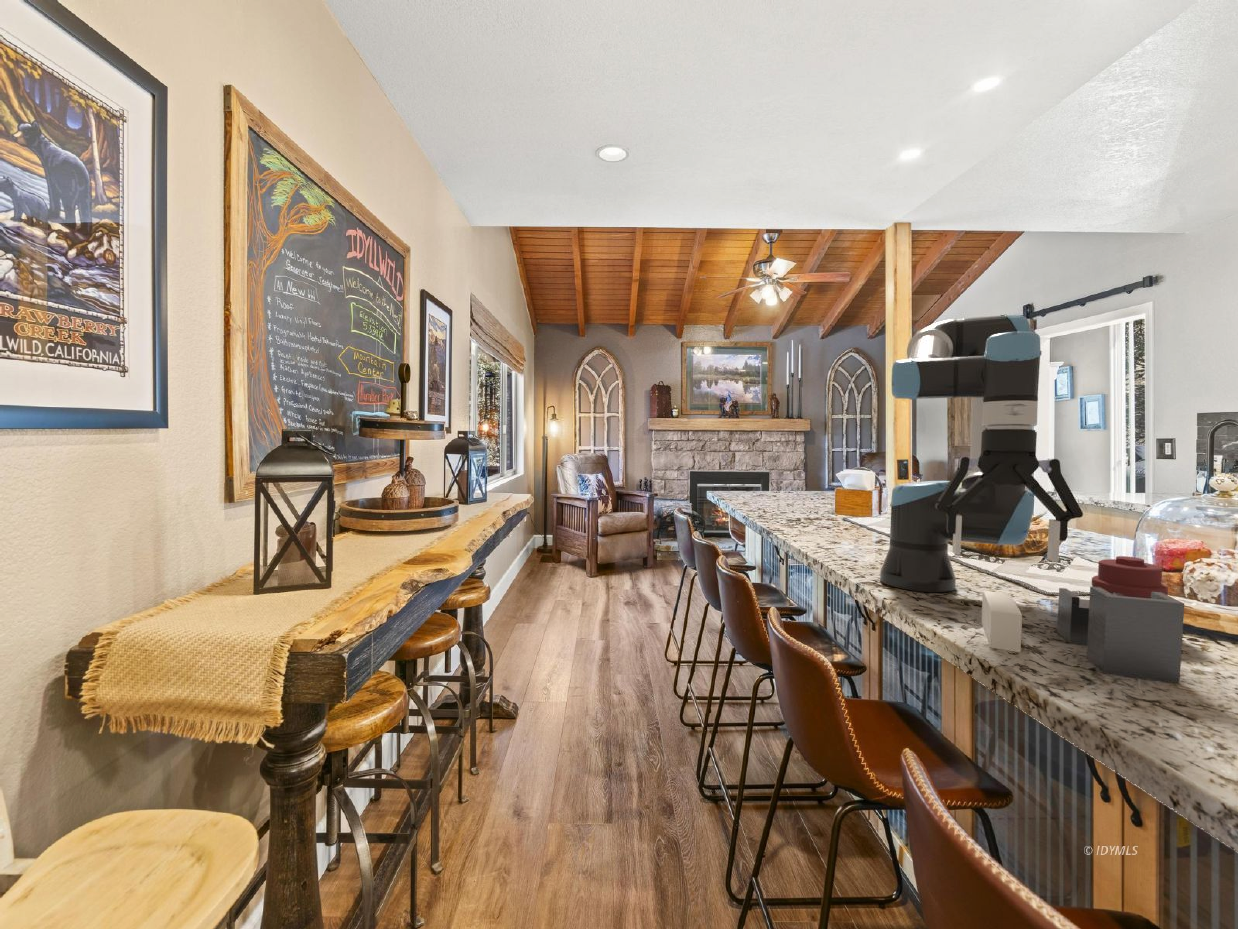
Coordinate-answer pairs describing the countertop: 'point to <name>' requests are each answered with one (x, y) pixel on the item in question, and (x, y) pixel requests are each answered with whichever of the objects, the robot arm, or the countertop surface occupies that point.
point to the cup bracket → (1135, 635)
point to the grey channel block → (1073, 617)
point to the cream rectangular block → (1001, 621)
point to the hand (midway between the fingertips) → (1003, 557)
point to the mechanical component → (1129, 577)
